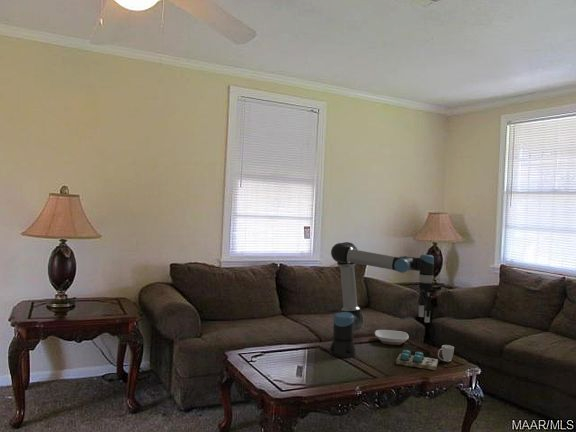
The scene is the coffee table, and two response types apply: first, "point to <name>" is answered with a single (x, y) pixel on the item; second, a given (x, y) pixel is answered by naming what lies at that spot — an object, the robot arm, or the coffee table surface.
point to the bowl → (391, 337)
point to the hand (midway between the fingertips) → (423, 319)
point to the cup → (447, 352)
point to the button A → (404, 356)
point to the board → (426, 363)
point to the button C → (417, 358)
